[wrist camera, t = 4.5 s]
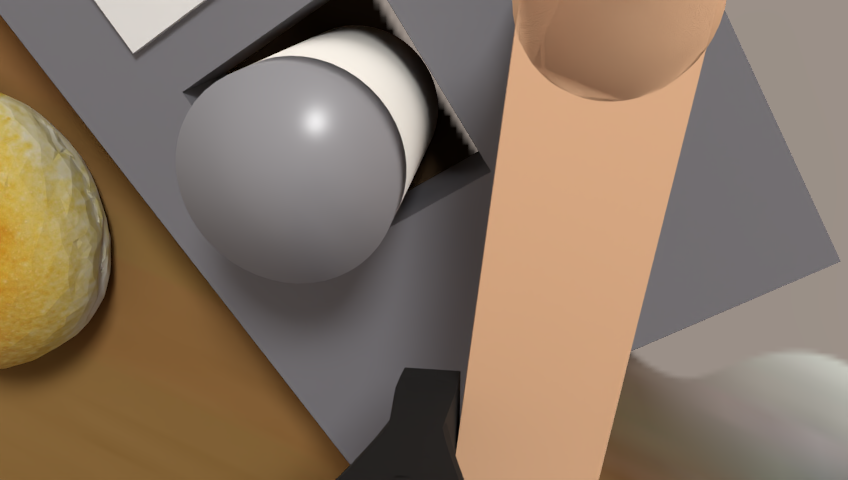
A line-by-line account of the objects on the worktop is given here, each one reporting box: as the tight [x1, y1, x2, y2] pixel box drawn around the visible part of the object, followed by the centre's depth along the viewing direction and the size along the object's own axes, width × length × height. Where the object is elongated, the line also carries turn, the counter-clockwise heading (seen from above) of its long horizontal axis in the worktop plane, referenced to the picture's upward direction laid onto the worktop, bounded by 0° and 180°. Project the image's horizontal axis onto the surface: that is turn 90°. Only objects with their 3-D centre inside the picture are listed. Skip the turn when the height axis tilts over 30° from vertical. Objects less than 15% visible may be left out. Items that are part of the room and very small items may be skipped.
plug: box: [176, 25, 438, 284], centre depth 15 cm, size 4×4×6 cm
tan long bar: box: [456, 0, 726, 480], centre depth 11 cm, size 12×3×2 cm, turn 175°
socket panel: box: [0, 0, 840, 465], centre depth 14 cm, size 20×13×6 cm, turn 32°
